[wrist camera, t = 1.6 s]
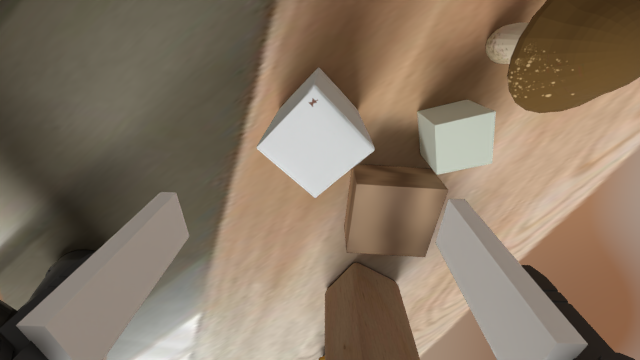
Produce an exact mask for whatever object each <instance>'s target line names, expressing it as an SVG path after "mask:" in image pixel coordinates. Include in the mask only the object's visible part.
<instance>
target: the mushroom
mask: <svg viewBox="0 0 640 360" xmlns="http://www.w3.org/2000/svg"><path fill="white" fill-rule="evenodd" d="M486 53H487V55H488V57H489V59H490V60H492V61H493V62H495V63H499V64H509V70H508V75H507V76H508V86H509V91H510V93H511V95H512V97H513V99H514V101H515V103H517V104H518V105H519V106H521V107H522V108H524V109H525V110H528V111H533V112H537V113H546V112H558V111H564V110H567V109H570V108H574V107H577V106H580V105H582V104H584V103H586V102H588V101H590V100H592V99H594V98H596V97H598V96H601V95H603V94H605V93H608V92H611V91H614V90H616V89H618V88H621V87H623V86H625V85H627V84H629V83H631V82H633V81H634V80H636V79H637V78H639V77H640V0H547V1H546V2H545V3H544V5H543V6H542V7H541V8H540V9H539V10H538V11H537V13H536V14H535V15H534V16H533V17H532V19H531V20H530V22H529V23H524V22H520V23H514V24H509V25H505V26H503V27H501V28H499V29H497V30H496V31H495V32H494V33H493V34H492V35H491V36H490V37H489V38H488V40H487V43H486Z"/></svg>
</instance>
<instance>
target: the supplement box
mask: <svg viewBox="0 0 640 360" xmlns="http://www.w3.org/2000/svg"><path fill="white" fill-rule="evenodd" d="M257 149H258V150H259V151H260V152H261V153H263V154H264V155H265V156H266V157H267V158H268V159H270V160H271V161H272V162H273V163H274V164H275V165H277V166H278V167H279V168H280V169H281V170H283V171H284V172H285V173H286V174H287V175H288V176H290V177H291V178H292V179H293V180H294V181H295V182H297V183H298V184H299V185H300V186H301V187H303V188H304V189H305V190H306V191H307V192H308V193H310V194H311V195H312V196H313V197H314V198H316V197H317V196H318V195H320V194H321V193H322V192H323V191H325V190H326V189H327V188H328V187H329V186H331V185H332V184H333V183H334V182H335V181H337V180H338V179H339V178H340V177H341V176H343V175H344V174H345V173H347V172H348V171H349V170H350V169H352V168H353V167H354V166H355V165H357V164H358V163H359V162H361V161H362V160H363V159H364V158H366V157H367V156H368V155H369V154H371V153H372V152H373V151H374V150H375V148H374V145H373V143H372V140H371V138H370V136H369V134H368V131H367V129H366V127H365V125H364V123H363V121H362V119H361V116H360V114H359V112H358V110H357V109H356V107H355V106H354V105H353V104H352V103H351V102H350V100H349V99H348V98H347V97H346V96H345V95H344V94H343V93H342V91H341V90H340V89H339V88H338V87H337V86H336V85H335V84H334V83H333V82H332V81H331V80H330V78H329V77H328V76H327V75H326V74H325V73H324V72H323V71H322V70H321V69H320V68H317V69H316V70H315V71H314V72H313V73H312V74H311V76H310V77H309V78H308V79H307V80H306V81H305V82H304V83H303V84H302V85H301V86H300V87H299V88H298V89H297V90H296V91H295V92H294V93H293V94H292V96H291V97H290V98H289V99H288V100H287V101H286V102H285V103H284V104H283V105H282V107H281V108H280V109H279V110H278V112H277V114H276V115H275V117H274V119H273V120H272V122H271V124H270V125H269V127H268V128H267V130H266V132H265V133H264V135H263V137H262V139H261V140H260V142H259V144H258V145H257Z"/></svg>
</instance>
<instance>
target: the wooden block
mask: <svg viewBox="0 0 640 360" xmlns="http://www.w3.org/2000/svg"><path fill="white" fill-rule="evenodd" d="M325 360H420V358H419V355H418V352H417V348H416V345H415V341H414V338H413V335H412V331H411V328H410V324H409V321H408V318H407V314H406V311H405V307H404V304H403V301H402V297H401V294H400V290H399V287H398V285H397V283H396V282H395V281H394V280H392V279H390V278H388V277H386V276H384V275H382V274H380V273H378V272H376V271H374V270H372V269H370V268H368V267H366V266H364V265H362V264H360V263H353V264H352V265H351V266H350V267H349V268H348V269H347V270H346V271H345V272H344V273H343V274H342V275H341V276H340V277H339V278H338V279H337V280H336V281H335V282H334V283H333V284H332V285H331V286H330V287H329V288H328V289H327V291H326V293H325Z"/></svg>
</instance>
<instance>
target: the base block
mask: <svg viewBox="0 0 640 360" xmlns="http://www.w3.org/2000/svg"><path fill="white" fill-rule="evenodd" d="M447 192H448V189H447V188H446V186H445V185H444V184H443V183H442V181H441V180H440V179H439V178H438V177H437V175H436V174H435V173H434V172H433V170H432V169H429V168H413V167H397V166H380V165H364V164H357V165H355V166H354V167H353V168H352V171H351V178H350V186H349V193H348V201H347V209H346V216H345V224H344V229H345V239H346V250H347V253H364V254H381V255H399V256H416V257H425V256H426V253H427V250H428V247H429V244H430V241H431V238H432V235H433V232H434V230H435V227H436V224H437V221H438V218H439V215H440V212H441V209H442V206H443V203H444V201H445V198H446V195H447Z"/></svg>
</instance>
